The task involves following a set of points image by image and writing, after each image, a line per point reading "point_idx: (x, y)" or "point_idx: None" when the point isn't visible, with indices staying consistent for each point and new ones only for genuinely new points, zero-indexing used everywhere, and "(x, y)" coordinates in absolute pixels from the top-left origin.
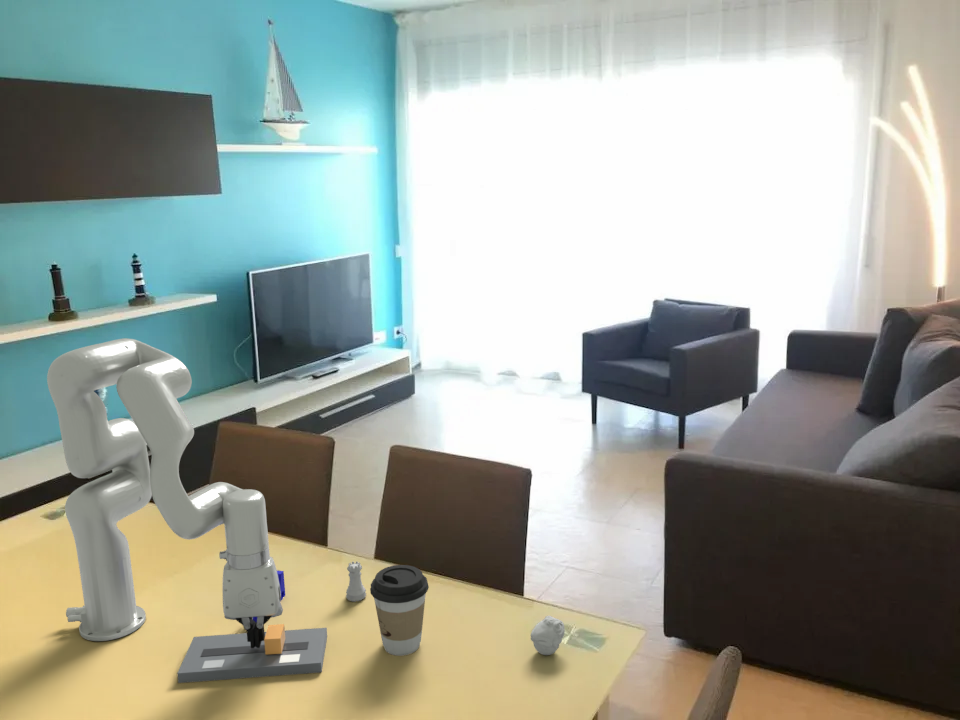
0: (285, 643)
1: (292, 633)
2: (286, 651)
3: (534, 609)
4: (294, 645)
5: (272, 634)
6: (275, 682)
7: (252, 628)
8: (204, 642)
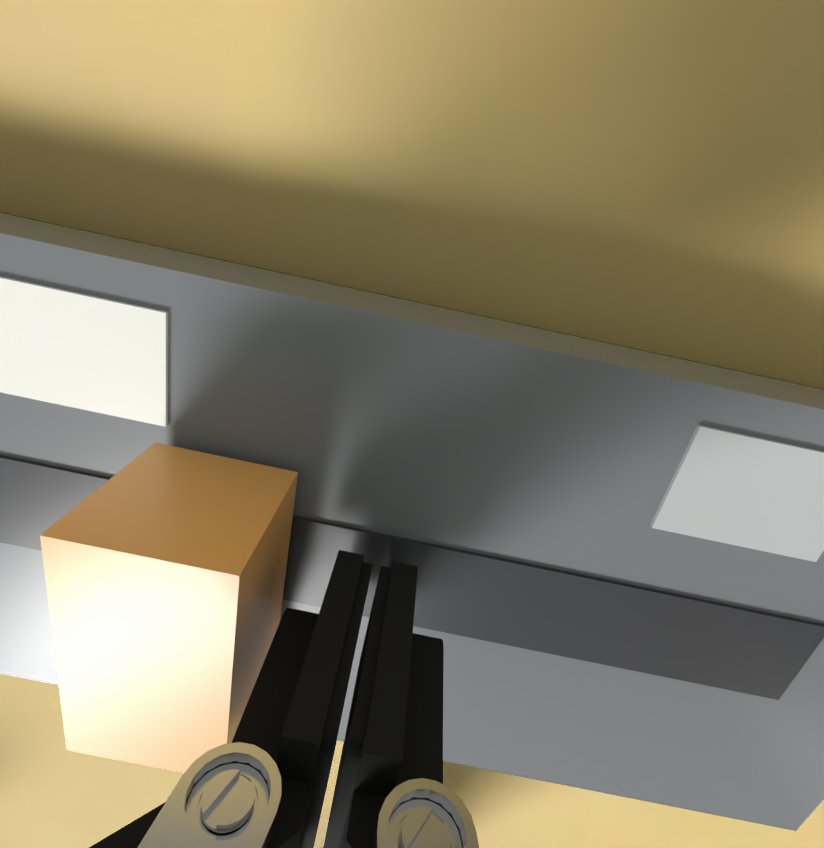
0: None
1: None
2: None
3: None
4: None
5: (155, 634)
6: (237, 161)
7: (357, 776)
8: (746, 762)
